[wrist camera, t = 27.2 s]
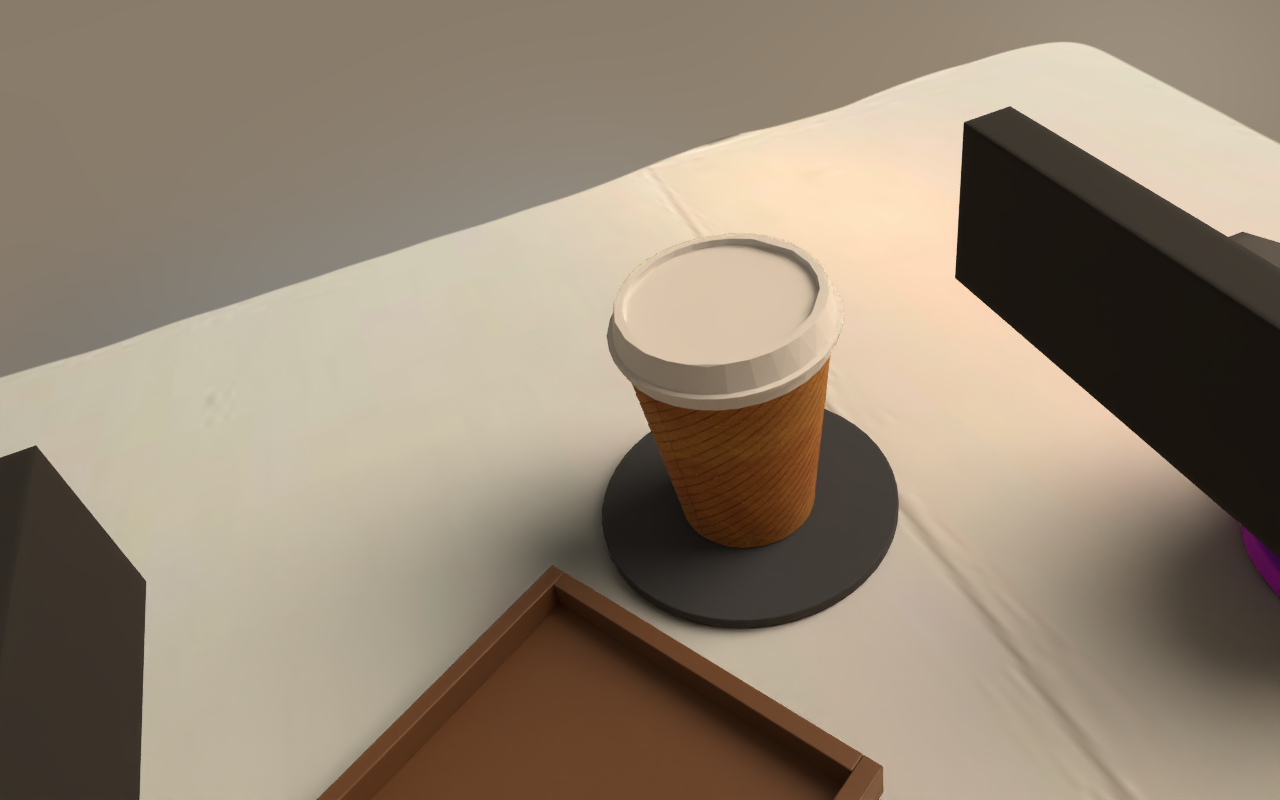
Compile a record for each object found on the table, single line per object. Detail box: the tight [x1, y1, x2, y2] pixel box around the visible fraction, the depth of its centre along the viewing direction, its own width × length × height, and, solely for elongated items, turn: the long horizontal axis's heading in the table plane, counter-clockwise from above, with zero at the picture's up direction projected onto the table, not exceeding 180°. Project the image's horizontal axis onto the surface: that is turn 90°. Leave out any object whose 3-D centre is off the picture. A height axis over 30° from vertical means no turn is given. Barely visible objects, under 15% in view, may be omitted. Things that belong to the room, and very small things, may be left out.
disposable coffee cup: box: [607, 234, 843, 548], centre depth 43 cm, size 10×10×12 cm
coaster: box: [602, 409, 899, 628], centre depth 47 cm, size 14×14×1 cm
